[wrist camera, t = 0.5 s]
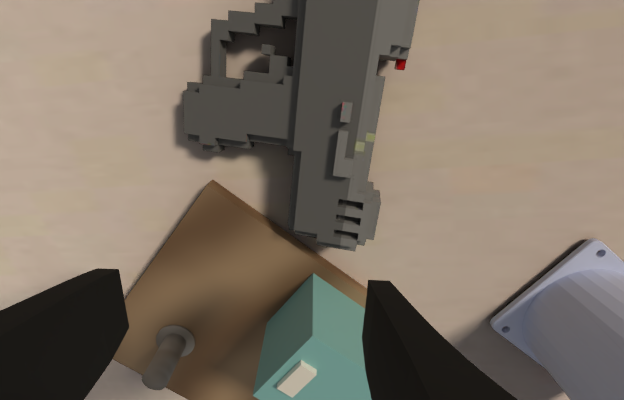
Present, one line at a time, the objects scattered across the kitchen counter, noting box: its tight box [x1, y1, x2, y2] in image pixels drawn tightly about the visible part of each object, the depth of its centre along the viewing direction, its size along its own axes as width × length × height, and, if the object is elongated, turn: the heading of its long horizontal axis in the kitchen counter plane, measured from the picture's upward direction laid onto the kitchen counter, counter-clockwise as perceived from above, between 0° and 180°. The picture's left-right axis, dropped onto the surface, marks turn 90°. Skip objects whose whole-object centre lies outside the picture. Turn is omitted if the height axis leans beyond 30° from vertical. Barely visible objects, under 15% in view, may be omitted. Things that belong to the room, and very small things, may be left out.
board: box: [113, 180, 367, 400], centre depth 20 cm, size 14×14×4 cm
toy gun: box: [183, 0, 419, 251], centre depth 16 cm, size 4×16×10 cm
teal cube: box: [253, 273, 372, 400], centre depth 18 cm, size 5×5×5 cm
